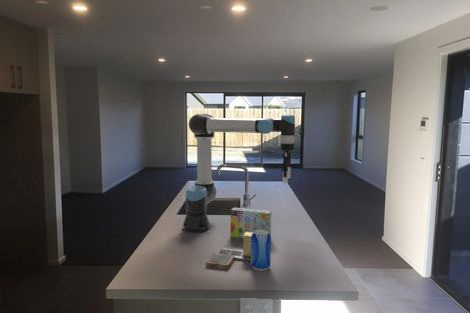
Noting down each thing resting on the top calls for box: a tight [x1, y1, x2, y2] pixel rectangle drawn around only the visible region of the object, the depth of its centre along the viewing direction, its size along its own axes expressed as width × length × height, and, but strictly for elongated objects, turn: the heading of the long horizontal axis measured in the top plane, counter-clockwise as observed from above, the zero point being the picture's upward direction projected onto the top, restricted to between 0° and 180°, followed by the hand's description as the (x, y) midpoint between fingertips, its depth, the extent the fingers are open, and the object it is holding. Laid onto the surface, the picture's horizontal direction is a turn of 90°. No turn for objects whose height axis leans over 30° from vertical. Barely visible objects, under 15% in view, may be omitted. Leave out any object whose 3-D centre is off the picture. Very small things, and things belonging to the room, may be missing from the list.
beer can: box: [250, 229, 272, 272], centre depth 151 cm, size 8×8×16 cm
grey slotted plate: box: [217, 247, 251, 262], centre depth 163 cm, size 20×9×1 cm, turn 75°
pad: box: [205, 252, 235, 271], centre depth 156 cm, size 10×10×2 cm
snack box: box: [230, 207, 272, 239], centre depth 186 cm, size 21×6×15 cm, turn 71°
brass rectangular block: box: [242, 232, 253, 258], centre depth 162 cm, size 5×5×11 cm
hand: (286, 180), depth 198 cm, fingers open, 13 cm apart
